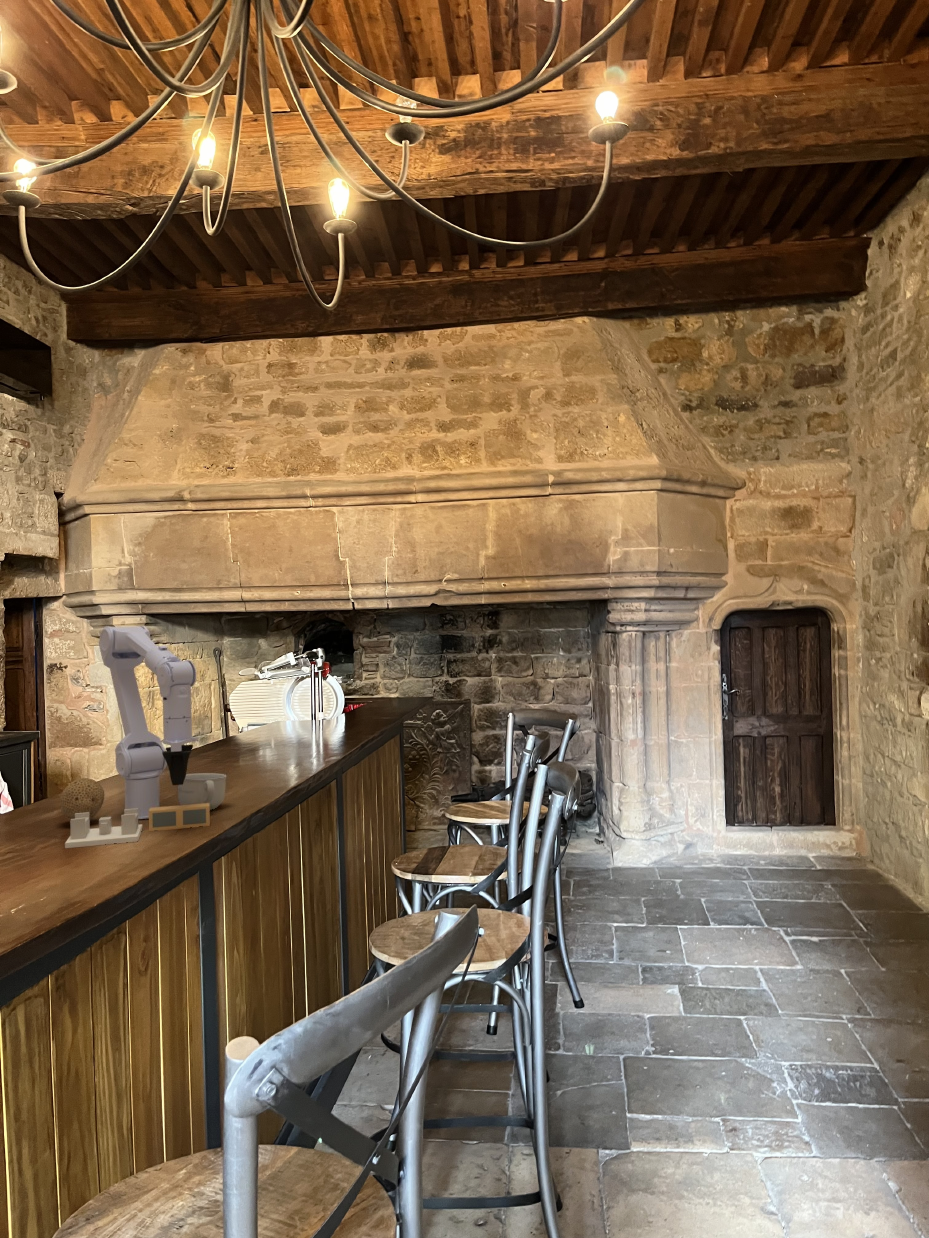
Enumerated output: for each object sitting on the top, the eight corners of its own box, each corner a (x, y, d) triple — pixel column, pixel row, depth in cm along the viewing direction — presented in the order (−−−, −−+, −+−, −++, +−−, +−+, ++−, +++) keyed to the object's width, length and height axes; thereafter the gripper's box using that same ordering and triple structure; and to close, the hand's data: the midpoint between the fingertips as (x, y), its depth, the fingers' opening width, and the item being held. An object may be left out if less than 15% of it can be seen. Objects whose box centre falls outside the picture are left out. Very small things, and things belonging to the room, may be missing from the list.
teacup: (177, 806, 190) (177, 773, 190) (225, 802, 194) (224, 769, 194) (178, 818, 177) (178, 782, 177) (229, 814, 181) (229, 778, 181)
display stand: (74, 835, 164) (74, 811, 164) (142, 829, 168) (142, 805, 168) (65, 848, 154) (64, 822, 154) (137, 841, 158) (137, 816, 158)
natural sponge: (101, 826, 171) (101, 779, 171) (55, 830, 168) (55, 783, 169) (107, 817, 180) (106, 773, 180) (63, 821, 177) (62, 776, 177)
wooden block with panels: (150, 828, 169) (150, 807, 170) (209, 823, 173) (209, 802, 173) (149, 832, 166) (148, 811, 166) (209, 826, 170) (209, 806, 170)
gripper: (196, 719, 164) (197, 785, 164) (198, 714, 178) (199, 775, 178) (159, 721, 162) (161, 788, 162) (164, 716, 176) (166, 777, 176)
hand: (179, 781), depth 169 cm, fingers open, 7 cm apart
